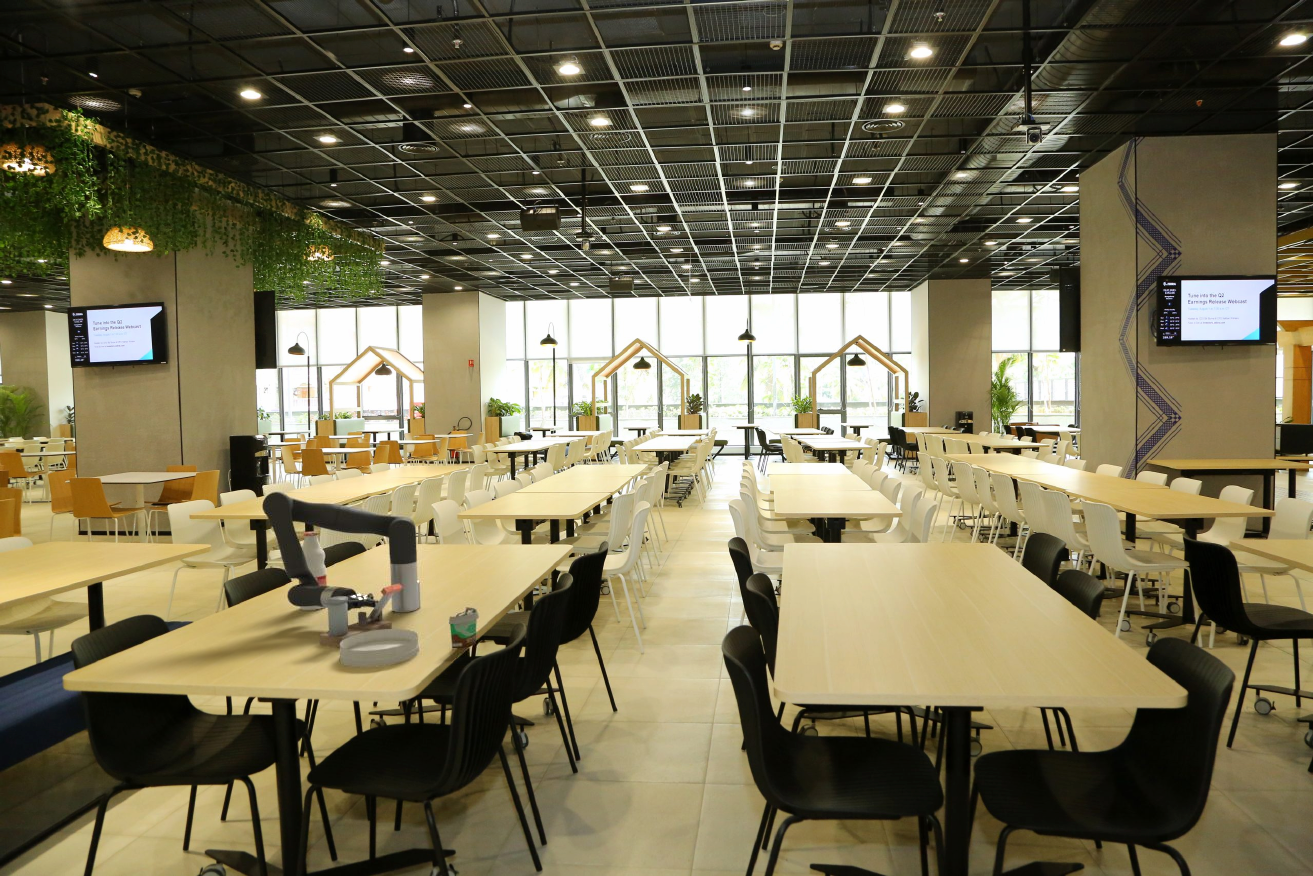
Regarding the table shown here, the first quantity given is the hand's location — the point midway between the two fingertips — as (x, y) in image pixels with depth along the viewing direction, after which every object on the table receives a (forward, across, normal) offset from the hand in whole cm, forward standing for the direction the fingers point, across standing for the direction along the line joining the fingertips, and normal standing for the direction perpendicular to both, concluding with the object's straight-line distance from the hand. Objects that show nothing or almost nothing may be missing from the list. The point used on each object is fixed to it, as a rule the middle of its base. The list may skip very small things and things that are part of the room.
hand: (376, 604), depth 257 cm
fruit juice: (-49, +16, +11) cm, 53 cm away
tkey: (-3, 0, +5) cm, 6 cm away
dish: (+18, -17, +10) cm, 27 cm away
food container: (+36, +2, +9) cm, 37 cm away
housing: (-3, -6, +10) cm, 12 cm away
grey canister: (-3, -13, +7) cm, 15 cm away
